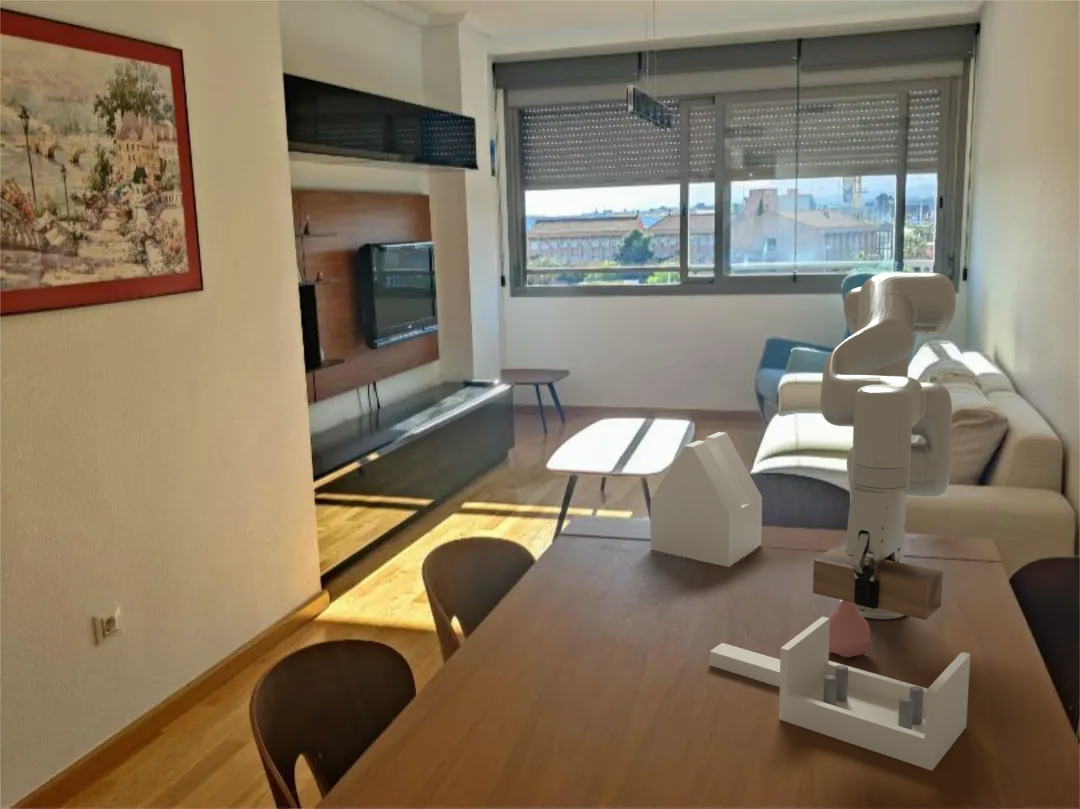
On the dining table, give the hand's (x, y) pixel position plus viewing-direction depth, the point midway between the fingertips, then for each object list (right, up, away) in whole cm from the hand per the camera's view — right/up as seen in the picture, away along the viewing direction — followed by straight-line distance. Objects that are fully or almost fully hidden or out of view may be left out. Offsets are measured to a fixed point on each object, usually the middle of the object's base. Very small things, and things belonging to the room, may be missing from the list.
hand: (875, 597), depth 137 cm
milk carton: (-10, -5, +79) cm, 80 cm away
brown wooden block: (0, 0, 0) cm, 0 cm away
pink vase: (+4, -15, +25) cm, 30 cm away
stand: (+1, -19, +4) cm, 19 cm away
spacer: (-13, -16, +20) cm, 29 cm away
